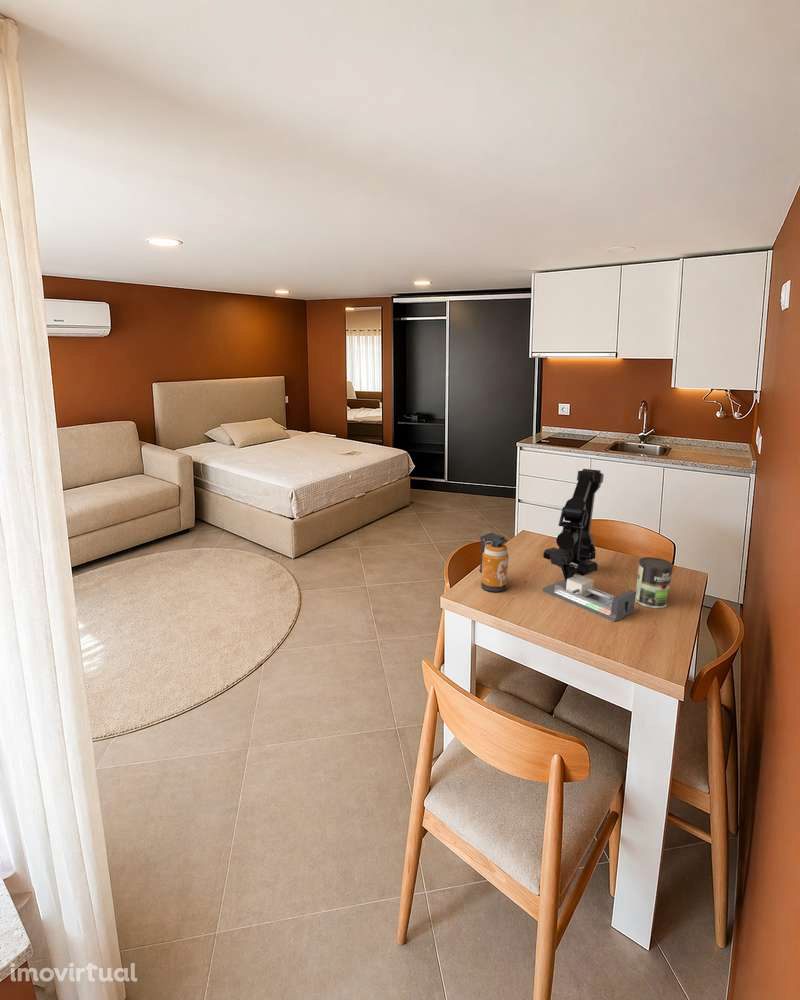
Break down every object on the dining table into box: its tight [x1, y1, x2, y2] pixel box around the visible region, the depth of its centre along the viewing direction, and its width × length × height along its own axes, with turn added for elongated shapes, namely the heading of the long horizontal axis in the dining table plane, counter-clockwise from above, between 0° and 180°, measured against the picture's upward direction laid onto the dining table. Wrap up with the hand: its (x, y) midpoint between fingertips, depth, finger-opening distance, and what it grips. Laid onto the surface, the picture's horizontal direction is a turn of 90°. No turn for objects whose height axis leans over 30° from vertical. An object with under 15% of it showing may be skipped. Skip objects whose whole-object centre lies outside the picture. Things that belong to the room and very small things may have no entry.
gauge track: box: [542, 579, 637, 622], centre depth 183 cm, size 12×28×7 cm, turn 37°
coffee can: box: [635, 556, 674, 609], centre depth 182 cm, size 10×10×14 cm
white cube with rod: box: [566, 574, 612, 601], centre depth 182 cm, size 9×15×5 cm, turn 37°
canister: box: [478, 531, 510, 593], centre depth 192 cm, size 9×11×20 cm
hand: (567, 583), depth 190 cm, fingers closed
